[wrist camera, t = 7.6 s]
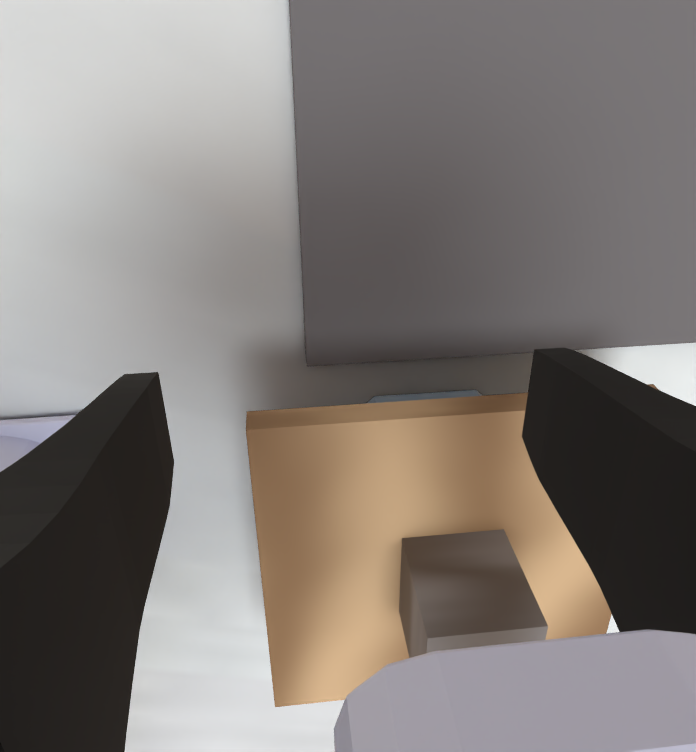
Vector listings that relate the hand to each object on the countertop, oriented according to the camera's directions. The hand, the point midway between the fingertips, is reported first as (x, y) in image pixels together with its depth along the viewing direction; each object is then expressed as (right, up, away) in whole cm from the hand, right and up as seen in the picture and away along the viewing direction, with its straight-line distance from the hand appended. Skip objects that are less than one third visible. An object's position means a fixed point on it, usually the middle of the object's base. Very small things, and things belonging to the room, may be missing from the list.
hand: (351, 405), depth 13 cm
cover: (+3, -6, +11) cm, 13 cm away
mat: (+7, +9, +8) cm, 14 cm away
